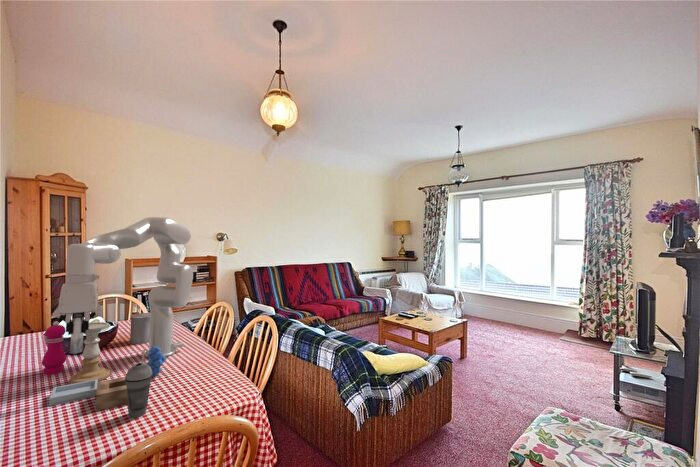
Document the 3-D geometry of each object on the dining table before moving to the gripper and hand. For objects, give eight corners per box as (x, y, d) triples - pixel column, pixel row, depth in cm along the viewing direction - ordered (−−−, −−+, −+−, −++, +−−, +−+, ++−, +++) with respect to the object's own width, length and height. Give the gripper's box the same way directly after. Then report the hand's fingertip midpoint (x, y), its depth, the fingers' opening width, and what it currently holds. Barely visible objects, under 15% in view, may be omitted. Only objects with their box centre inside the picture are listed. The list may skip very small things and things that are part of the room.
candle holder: (64, 388, 114) (66, 331, 115) (74, 374, 125) (77, 323, 126) (106, 381, 120) (108, 328, 120) (113, 369, 131) (115, 320, 131)
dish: (97, 385, 117) (98, 379, 117) (96, 396, 109) (97, 388, 109) (53, 394, 109) (53, 387, 109) (49, 406, 102) (49, 398, 102)
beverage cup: (132, 408, 103) (134, 345, 103) (155, 407, 103) (158, 345, 104) (117, 420, 95) (120, 353, 96) (143, 420, 96) (146, 353, 96)
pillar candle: (131, 339, 168) (132, 311, 168) (153, 337, 173) (153, 309, 173) (128, 345, 160) (129, 315, 160) (151, 343, 164) (152, 313, 164)
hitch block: (135, 388, 116) (136, 374, 116) (137, 401, 107) (138, 386, 107) (96, 396, 109) (97, 382, 109) (95, 411, 100) (96, 395, 100)
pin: (82, 350, 112) (84, 311, 112) (82, 352, 109) (84, 313, 109) (70, 351, 110) (72, 312, 110) (69, 354, 107) (71, 314, 107)
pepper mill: (50, 376, 123) (53, 324, 123) (36, 374, 125) (38, 322, 125) (70, 369, 130) (72, 319, 131) (56, 367, 132) (58, 318, 132)
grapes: (171, 377, 125) (172, 346, 125) (152, 383, 120) (153, 351, 120) (161, 368, 133) (162, 340, 133) (142, 373, 128) (143, 343, 128)
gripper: (109, 277, 118) (107, 327, 117) (49, 279, 108) (46, 333, 108) (109, 279, 112) (107, 332, 111) (45, 281, 102) (42, 339, 102)
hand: (77, 332), depth 109 cm, fingers closed on pin, 3 cm apart
